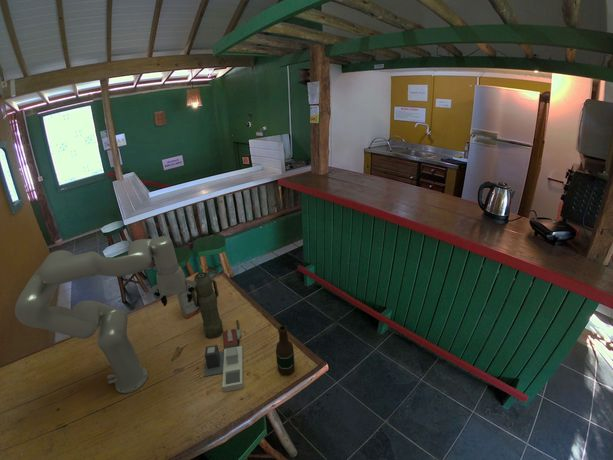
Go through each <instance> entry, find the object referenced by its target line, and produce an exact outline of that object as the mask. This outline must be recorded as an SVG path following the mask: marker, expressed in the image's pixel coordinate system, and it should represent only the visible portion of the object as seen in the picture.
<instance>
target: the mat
mask: <svg viewBox="0 0 613 460" xmlns="http://www.w3.org/2000/svg"><path fill="white" fill-rule="evenodd" d="M219 354H220V367H215V368H209V369H208V367H207V363H206V362H205V364H204V365H205V366H204V372H203V373H204V375H203V377H204V378H207V377H213V376H218V375H223V366H224V350H222V351H219Z"/></svg>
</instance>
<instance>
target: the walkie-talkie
mask: <svg viewBox="0 0 613 460" xmlns="http://www.w3.org/2000/svg"><path fill="white" fill-rule="evenodd" d="M235 322H236V328H237V329H235V328H232V329H229V330H228V329H227V330H225V331H224V330H223V333H222V339H223V348H224V349H226V348H231V347H238V346H240V340H241V339H242V330H241V328H240V324H239V323H240V322H239V320H238V319H236V320H235Z"/></svg>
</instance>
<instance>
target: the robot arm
mask: <svg viewBox="0 0 613 460" xmlns="http://www.w3.org/2000/svg"><path fill="white" fill-rule="evenodd" d="M152 258H153V259H154V262H155V265H154V266H152V270H154V271H157V272H156V275H155V276H156V283H157V284H155V285H153V286H152V287H151V288H150V292H151V293H152V294H153V295H154V296H156V297H158V299H160V302H161V304H162V305H163V307H167V304H168V298H167V296H172V295H177V294H180V293H184V292H186V293H187V298H188V302H191V299H192V298H193V297H192V293H191V292H192V291H193V290H194V288H195V285H196V282H195V281H191V280H186V278H187V277H186V274H185V273H184V270H183V269H182V266H180V265H179V262H178V258H177V254H176V252H175V247H174V244H173V240H172V239H171V238H170V236H167V235H166V236H164V235H162V236H158V237H155V238H141V239H136V240H133V241H132V242H131V243H130V244H129V246H128V251H127V254H125V255H122V256H117V257H105V256H102V255H100V254H99V253H98V252H96V251H93V250H92V251H88V252H84V253H83V252H81V253H79V254H74V253H72V251H69V250H64V249H59V250H55V251H53V252H50V253H49V254H48V255H47V256H46V257H45V259H44V260H43V262H42V263H41V264H40V266H39V267H38V268H37V269H36V271H35V272H34V274H33V275H32V276H31V278H30V279H29V280H28V282H27V284H26V285H25V287H24V288H23V290H22V291H21V293H20V295H19V296H18V297H17V300H16V303H15V307H14V314H15V317H16V319H17V321H19V323H20V324H23V325H24V326H27V327H29V328H36V329H43V330H47V331H50V332H55V333H57V334H61V335H64V336H65V335H66V336H69V337H73V338H77V339H82V340H83V339H89V338H91V337H92V336H93V335H94V334H95V333H96V331H97V330H98V332H97V333H98V334H97V345H98V346H97V347H99V349H100V350H101V352H102V353H103V354H104V356H105V358H106V360H107V362H108V364H109V365H110V368H111V371H112V373H113V374H107V380H108V385H110V384H115V389H116V391H117V392H118V393H120V394H122V395H123V394H124V395H125V394H131V393H133V392H135V391H137V390H139V389H140V388H141V387H143V385H145V383H146V382H147V380H148V378H149V371H148V370H147V368H146V367H144V366H142V365H141V363H140V360H139V359H138V356H137V353H136V351H135V348H134V346H133V343H132V342H131V341H130V340H129V338H128V321H129V320H128V315H127V313H126V312H125V311H124V310H122V309H120V308H117V307H115V306H111V305H108V304H105V303H102V302H99V301H96V300H92V299H91V300H82V301H80V302H78V303H76V304H75V305H74V306H73V308H72V309H71V308H68V307H65V306H62V305H56V306H55V305H54V306H50V304H51V301H52V300H53V299H54V298H53V297H54V295H55V293H56V291H57V289H58V287H59V286H60V285H62V284H66V283H70V282H75V281H78V280H83V279H87V278H90V277H95V276H104V277H115V278H118V277H124V276H125V277H126V276H130V275H134V274H137V273H140V272H143V271H145V270H146V269H148V268H149V267H150V265H151V263H152ZM187 284H189V285H192V286H191V287H188V286H187ZM98 326H99V327H98Z"/></svg>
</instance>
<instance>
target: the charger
mask: <svg viewBox="0 0 613 460" xmlns="http://www.w3.org/2000/svg"><path fill="white" fill-rule="evenodd" d="M219 352H220V350H219V346H218V345H210V346H205V350H204V359H205V364H206V363H207V367H208V369H209V368H215V367H220V354H219Z"/></svg>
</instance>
